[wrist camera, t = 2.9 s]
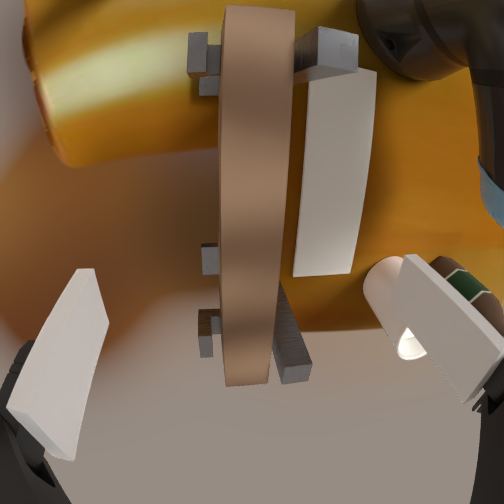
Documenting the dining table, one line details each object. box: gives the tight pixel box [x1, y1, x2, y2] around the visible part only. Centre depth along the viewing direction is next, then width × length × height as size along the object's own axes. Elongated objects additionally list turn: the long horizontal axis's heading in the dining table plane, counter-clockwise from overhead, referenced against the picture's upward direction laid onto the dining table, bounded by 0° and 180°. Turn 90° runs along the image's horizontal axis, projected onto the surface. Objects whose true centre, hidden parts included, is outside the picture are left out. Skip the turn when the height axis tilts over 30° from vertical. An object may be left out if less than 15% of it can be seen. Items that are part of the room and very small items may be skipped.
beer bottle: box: [429, 256, 504, 337], centre depth 31 cm, size 8×8×24 cm
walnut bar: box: [218, 5, 295, 387], centre depth 17 cm, size 24×3×5 cm, turn 178°
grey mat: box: [292, 67, 377, 277], centre depth 32 cm, size 26×8×1 cm, turn 178°
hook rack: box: [187, 26, 359, 384], centre depth 22 cm, size 24×8×18 cm, turn 178°
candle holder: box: [363, 256, 427, 360], centre depth 35 cm, size 10×10×12 cm
